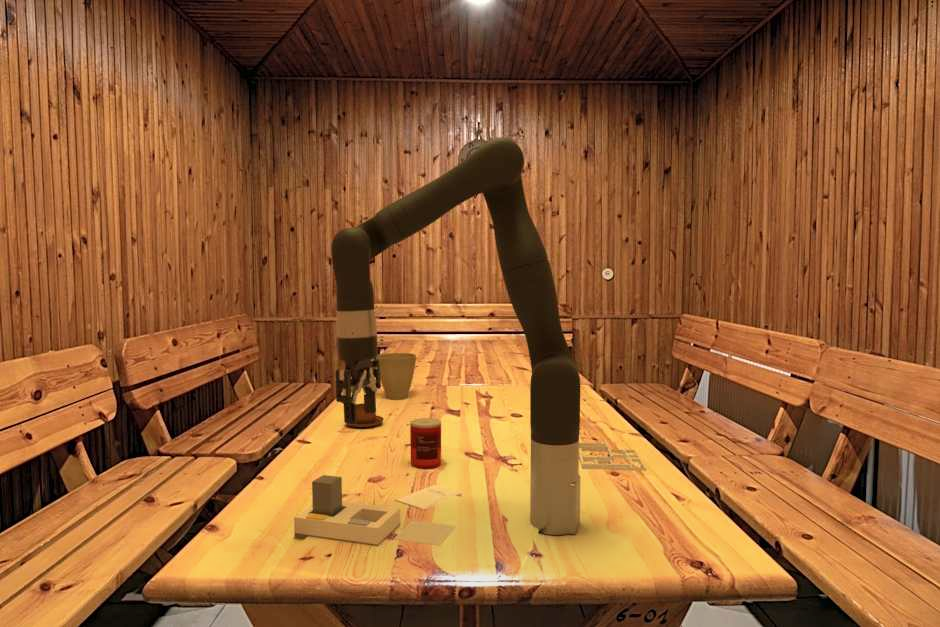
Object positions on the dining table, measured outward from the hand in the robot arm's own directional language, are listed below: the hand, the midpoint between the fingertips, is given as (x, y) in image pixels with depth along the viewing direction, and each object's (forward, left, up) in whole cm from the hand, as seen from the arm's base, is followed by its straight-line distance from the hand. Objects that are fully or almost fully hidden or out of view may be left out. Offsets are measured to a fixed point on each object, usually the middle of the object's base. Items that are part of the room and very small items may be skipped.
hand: (360, 417), depth 128 cm
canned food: (+2, -40, -22) cm, 45 cm away
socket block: (+1, +4, -21) cm, 22 cm away
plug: (+5, +4, -20) cm, 21 cm away
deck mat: (-14, +1, -21) cm, 25 cm away
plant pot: (+42, -112, -22) cm, 122 cm away
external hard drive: (-7, -17, -22) cm, 29 cm away
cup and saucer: (+36, -72, -22) cm, 83 cm away
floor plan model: (-37, -58, -22) cm, 72 cm away
